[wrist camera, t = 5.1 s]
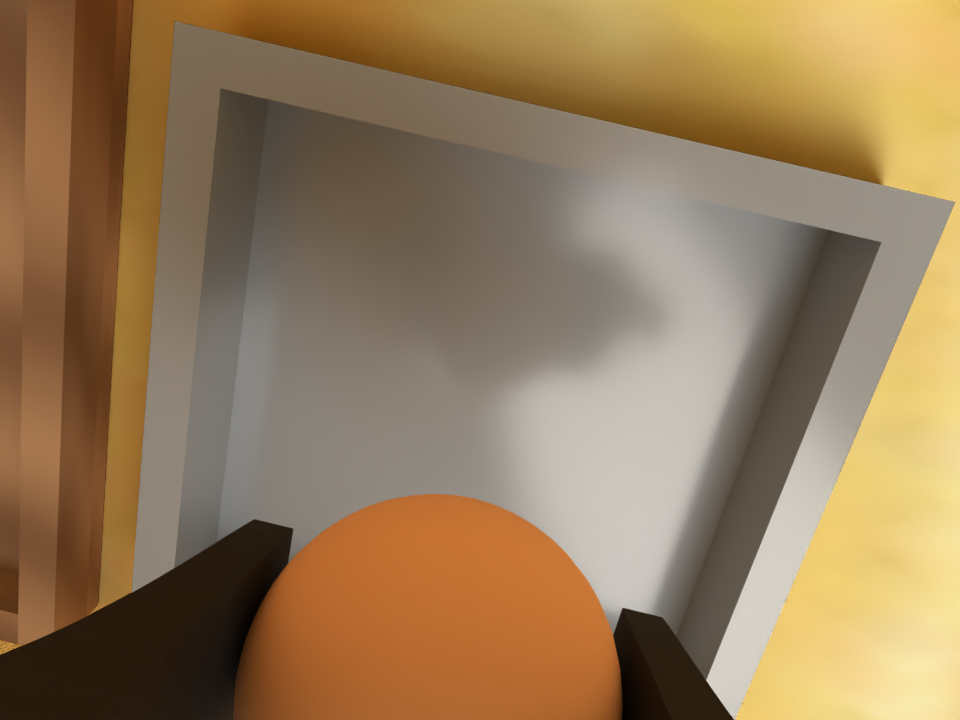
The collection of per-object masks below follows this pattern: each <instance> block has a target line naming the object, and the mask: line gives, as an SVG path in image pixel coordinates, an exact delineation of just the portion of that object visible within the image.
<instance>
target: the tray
mask: <svg viewBox="0 0 960 720" xmlns="http://www.w3.org/2000/svg"><path fill="white" fill-rule="evenodd" d="M132 6H133V0H0V640H3V641H7V642H11V643H15V644H19V645H25V644H28V643H30V642H32V641H35V640H37V639H39V638H42V637H44V636H46V635H48V634H51V633H53V632H55V631H57V630H59V629H61V628H64V627H66V626H68V625H70V624H72V623H74V622H76V621H78V620H80V619H82V618H85V617H87V616H88V615H89V614H90V613H91V612H92V611H93V609H94V608H95V607H96V606H97V605H98V596H99V579H100V562H101V544H102V527H103V510H104V492H105V475H106V458H107V440H108V423H109V405H110V388H111V371H112V353H113V336H114V319H115V301H116V284H117V266H118V249H119V232H120V214H121V197H122V180H123V162H124V145H125V127H126V110H127V93H128V75H129V58H130V41H131V23H132Z"/></svg>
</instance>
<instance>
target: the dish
mask: <svg viewBox="0 0 960 720" xmlns="http://www.w3.org/2000/svg"><path fill="white" fill-rule="evenodd" d="M954 204H955V202H953V201H949V200H944V199H940V198H936V197H931V196H927V195H923V194H918V193H914V192H910V191H906V190H901V189H897V188H893V187H888V186H884V185H880V184H875V183H871V182H867V181H862V180H858V179H854V178H849V177H845V176H841V175H837V174H832V173H828V172H824V171H819V170H815V169H811V168H806V167H802V166H798V165H793V164H789V163H785V162H780V161H776V160H772V159H767V158H763V157H759V156H755V155H750V154H746V153H742V152H737V151H733V150H729V149H724V148H720V147H716V146H711V145H707V144H703V143H698V142H694V141H690V140H686V139H681V138H677V137H673V136H668V135H664V134H660V133H655V132H651V131H647V130H642V129H638V128H634V127H629V126H625V125H621V124H617V123H612V122H608V121H604V120H599V119H595V118H591V117H586V116H582V115H578V114H573V113H569V112H565V111H560V110H556V109H552V108H547V107H543V106H539V105H535V104H530V103H526V102H522V101H517V100H513V99H509V98H504V97H500V96H496V95H491V94H487V93H483V92H478V91H474V90H470V89H466V88H461V87H457V86H453V85H448V84H444V83H440V82H435V81H431V80H427V79H422V78H418V77H414V76H409V75H405V74H401V73H397V72H392V71H388V70H384V69H379V68H375V67H371V66H366V65H362V64H358V63H353V62H349V61H345V60H340V59H336V58H332V57H327V56H323V55H319V54H315V53H310V52H306V51H302V50H297V49H293V48H289V47H284V46H280V45H276V44H271V43H267V42H263V41H258V40H254V39H250V38H246V37H241V36H237V35H233V34H228V33H224V32H220V31H215V30H211V29H207V28H202V27H198V26H194V25H189V24H185V23H181V22H177V21H174V35H173V48H172V61H171V75H170V88H169V101H168V115H167V128H166V141H165V155H164V168H163V181H162V194H161V208H160V221H159V234H158V248H157V261H156V274H155V288H154V301H153V314H152V328H151V341H150V354H149V368H148V381H147V394H146V407H145V421H144V434H143V447H142V461H141V474H140V487H139V501H138V514H137V527H136V541H135V554H134V567H133V581H132V592H134V591H136V590H137V589H139V588H141V587H143V586H144V585H146V584H148V583H150V582H151V581H153V580H155V579H156V578H158V577H160V576H161V575H163V574H165V573H167V572H168V571H170V570H172V569H173V568H175V567H177V566H178V565H180V564H182V563H184V562H185V561H187V560H188V559H190V558H192V557H193V556H195V555H197V554H198V553H200V552H201V551H203V550H205V549H206V548H208V547H209V546H211V545H213V544H214V543H216V542H217V541H219V540H221V539H222V538H224V537H225V536H227V535H229V534H230V533H232V532H233V531H235V530H237V529H238V528H240V527H242V526H243V525H245V524H247V523H248V522H250V521H252V520H254V519H256V520H260V521H264V522H269V523H273V524H277V525H281V526H285V527H289V528H293V535H292V541H291V548H290V554H289V560H288V563H289V562H290V561H291V560H292V559H293V558H294V556H295V555H296V554H297V553H298V552H299V551H301V550H302V549H303V548H304V547H305V546H306V545H307V544H308V543H310V542H311V541H312V540H313V539H314V538H315V537H316V536H318V535H319V534H320V533H321V532H322V531H324V530H325V529H327V528H328V527H330V526H331V525H333V524H334V523H336V522H338V521H339V520H341V519H343V518H344V517H346V516H348V515H350V514H352V513H354V512H356V511H359V510H361V509H363V508H365V507H367V506H370V505H373V504H376V503H379V502H382V501H386V500H389V499H394V498H400V497H405V496H411V495H422V494H447V495H458V496H463V497H469V498H475V499H478V500H481V501H485V502H488V503H491V504H494V505H497V506H499V507H501V508H504V509H506V510H508V511H510V512H513V513H514V514H516V515H518V516H519V517H521V518H523V519H525V520H526V521H528V522H530V523H531V524H533V525H534V526H536V527H537V528H538V529H540V530H541V531H542V532H544V533H545V534H546V535H548V536H549V537H550V538H552V539H553V540H554V541H555V542H556V543H557V544H558V545H559V546H560V547H561V548H562V549H563V550H564V551H565V552H566V553H567V554H568V555H569V557H570V558H571V559H572V561H573V562H574V563H575V564H576V566H577V567H578V568H579V570H580V571H581V572H582V573H583V575H584V576H585V577H586V579H587V580H588V582H589V583H590V585H591V587H592V589H593V590H594V592H595V594H596V596H597V597H598V599H599V602H600V604H601V606H602V608H603V610H604V613H605V615H606V618H607V620H608V623H609V625H610V628H611V630H612V634H614V631H615V628H616V625H617V622H618V619H619V616H620V613H621V611H622V608H626V609H630V610H634V611H639V612H643V613H647V614H651V615H655V616H659V617H663V619H664V620H665V621H666V623H667V624H668V625H669V627H670V628H671V630H672V631H673V633H674V634H675V635H676V637H677V638H678V640H679V641H680V643H681V644H682V646H683V647H684V649H685V650H686V652H687V653H688V655H689V656H690V657H691V659H692V660H693V662H694V663H695V665H696V666H697V668H698V669H699V671H700V672H701V674H702V675H703V676H704V678H705V679H706V681H707V682H708V684H709V685H710V687H711V688H712V689H713V691H714V692H715V694H716V695H717V697H718V698H719V699H720V701H721V702H722V704H723V705H724V706H725V708H726V709H727V711H728V712H729V713H730V715H731V716H732V718H733V719H734V720H735V718H736V716H737V714H738V711H739V709H740V707H741V704H742V702H743V700H744V697H745V695H746V693H747V690H748V688H749V686H750V683H751V681H752V678H753V676H754V674H755V671H756V669H757V667H758V664H759V662H760V660H761V657H762V655H763V653H764V650H765V648H766V646H767V643H768V641H769V639H770V636H771V634H772V632H773V629H774V627H775V624H776V622H777V620H778V617H779V615H780V613H781V610H782V608H783V606H784V603H785V601H786V599H787V596H788V594H789V592H790V589H791V587H792V585H793V582H794V580H795V577H796V575H797V573H798V570H799V568H800V566H801V563H802V561H803V559H804V556H805V554H806V552H807V549H808V547H809V545H810V542H811V540H812V538H813V535H814V533H815V531H816V528H817V526H818V523H819V521H820V519H821V516H822V514H823V512H824V509H825V507H826V505H827V502H828V500H829V498H830V495H831V493H832V491H833V488H834V486H835V484H836V481H837V479H838V476H839V474H840V472H841V469H842V467H843V465H844V462H845V460H846V458H847V455H848V453H849V451H850V448H851V446H852V444H853V441H854V439H855V437H856V434H857V432H858V430H859V427H860V425H861V422H862V420H863V418H864V415H865V413H866V411H867V408H868V406H869V404H870V401H871V399H872V397H873V394H874V392H875V390H876V387H877V385H878V383H879V380H880V378H881V375H882V373H883V371H884V368H885V366H886V364H887V361H888V359H889V357H890V354H891V352H892V350H893V347H894V345H895V343H896V340H897V338H898V336H899V333H900V331H901V329H902V326H903V324H904V321H905V319H906V317H907V314H908V312H909V310H910V307H911V305H912V303H913V300H914V298H915V296H916V293H917V291H918V289H919V286H920V284H921V282H922V279H923V277H924V274H925V272H926V270H927V267H928V265H929V263H930V260H931V258H932V256H933V253H934V251H935V249H936V246H937V244H938V242H939V239H940V237H941V235H942V232H943V230H944V228H945V225H946V223H947V220H948V218H949V216H950V213H951V211H952V209H953V206H954Z"/></svg>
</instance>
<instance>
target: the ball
mask: <svg viewBox="0 0 960 720" xmlns="http://www.w3.org/2000/svg"><path fill="white" fill-rule="evenodd" d="M622 711H623V704H622V684H621V669H620V664H619V660H618V655H617V651H616V647H615V642H614V638H613V634H612V630H611V628H610V625H609V623H608V620H607V618H606V615H605V613H604V610H603V608H602V606H601V604H600V602H599V599H598V597H597V596H596V594H595V592H594V590H593V589H592V587H591V585H590V583H589V582H588V580H587V579H586V577H585V576H584V575H583V573H582V572H581V571H580V570H579V568H578V567H577V566H576V564H575V563H574V562H573V561H572V559H571V558H570V557H569V555H568V554H567V553H566V552H565V551H564V550H563V549H562V548H561V547H560V546H559V545H558V544H557V543H556V542H555V541H554V540H553V539H552V538H550V537H549V536H548V535H546V534H545V533H544V532H542V531H541V530H540V529H538V528H537V527H536V526H534V525H533V524H531V523H530V522H528V521H526V520H525V519H523V518H521V517H519V516H518V515H516V514H514V513H513V512H510V511H508V510H506V509H504V508H501V507H499V506H497V505H494V504H491V503H488V502H485V501H481V500H478V499H475V498H469V497H463V496H458V495H447V494H422V495H411V496H405V497H400V498H394V499H389V500H386V501H382V502H379V503H376V504H373V505H370V506H367V507H365V508H363V509H361V510H359V511H356V512H354V513H352V514H350V515H348V516H346V517H344V518H343V519H341V520H339V521H338V522H336V523H334V524H333V525H331V526H330V527H328V528H327V529H325V530H324V531H322V532H321V533H320V534H319V535H318V536H316V537H315V538H314V539H313V540H312V541H311V542H310V543H308V544H307V545H306V546H305V547H304V548H303V549H302V550H301V551H299V552H298V553H297V554H296V555H295V556H294V558H293V559H292V560H291V561H290V562H289V563H288V565H287V566H286V567H285V568H284V569H283V571H282V572H281V573H280V575H279V576H278V577H277V579H276V580H275V581H274V583H273V584H272V586H271V587H270V589H269V591H268V592H267V594H266V596H265V597H264V599H263V601H262V602H261V604H260V606H259V608H258V611H257V613H256V615H255V617H254V619H253V621H252V624H251V626H250V629H249V631H248V634H247V636H246V639H245V643H244V646H243V650H242V654H241V657H240V662H239V666H238V671H237V675H236V684H235V695H234V711H233V720H622Z"/></svg>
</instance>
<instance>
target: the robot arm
mask: <svg viewBox="0 0 960 720" xmlns="http://www.w3.org/2000/svg"><path fill="white" fill-rule="evenodd" d="M292 535H293V528H289V527H285V526H281V525H277V524H273V523H269V522H264V521H260V520H256V519H254V520H252V521H250V522H248V523H247V524H245V525H243V526H242V527H240V528H238V529H237V530H235V531H233V532H232V533H230V534H229V535H227V536H225V537H224V538H222V539H221V540H219V541H217V542H216V543H214V544H213V545H211V546H209V547H208V548H206V549H205V550H203V551H201V552H200V553H198V554H197V555H195V556H193V557H192V558H190V559H188V560H187V561H185V562H184V563H182V564H180V565H178V566H177V567H175V568H173V569H172V570H170V571H168V572H167V573H165V574H163V575H161V576H160V577H158V578H156V579H155V580H153V581H151V582H150V583H148V584H146V585H144V586H143V587H141V588H139V589H137V590H136V591H134V592H132V593H130V594H128V595H126V596H124V597H122V598H121V599H119V600H117V601H115V602H113V603H111V604H109V605H107V606H106V607H104V608H102V609H100V610H98V611H96V612H94V613H92V614H90V615H88V616H87V617H85V618H82V619H80V620H78V621H76V622H74V623H72V624H70V625H68V626H66V627H64V628H61V629H59V630H57V631H55V632H53V633H51V634H48V635H46V636H44V637H42V638H39V639H37V640H35V641H32V642H30V643H28V644H25V645H23V646H20V647H18V648H16V649H13V650H11V651H9V652H6V653H4V654H2V655H0V720H233V711H234V695H235V684H236V675H237V671H238V666H239V662H240V657H241V654H242V650H243V646H244V643H245V639H246V636H247V634H248V631H249V629H250V626H251V624H252V621H253V619H254V617H255V615H256V613H257V611H258V608H259V606H260V604H261V602H262V601H263V599H264V597H265V596H266V594H267V592H268V591H269V589H270V587H271V586H272V584H273V583H274V581H275V580H276V579H277V577H278V576H279V575H280V573H281V572H282V571H283V569H284V568H285V567H286V566H287V565H288V560H289V554H290V548H291V541H292ZM613 638H614V642H615V647H616V651H617V655H618V660H619V664H620V669H621V684H622V704H623V711H622V720H734V719H733V718H732V716H731V715H730V713H729V712H728V711H727V709H726V708H725V706H724V705H723V704H722V702H721V701H720V699H719V698H718V697H717V695H716V694H715V692H714V691H713V689H712V688H711V687H710V685H709V684H708V682H707V681H706V679H705V678H704V676H703V675H702V674H701V672H700V671H699V669H698V668H697V666H696V665H695V663H694V662H693V660H692V659H691V657H690V656H689V655H688V653H687V652H686V650H685V649H684V647H683V646H682V644H681V643H680V641H679V640H678V638H677V637H676V635H675V634H674V633H673V631H672V630H671V628H670V627H669V625H668V624H667V623H666V621H665V620H664V619H663V617H659V616H655V615H651V614H647V613H643V612H639V611H634V610H630V609H626V608H622V611H621V613H620V616H619V619H618V622H617V625H616V628H615V631H614V634H613Z"/></svg>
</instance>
